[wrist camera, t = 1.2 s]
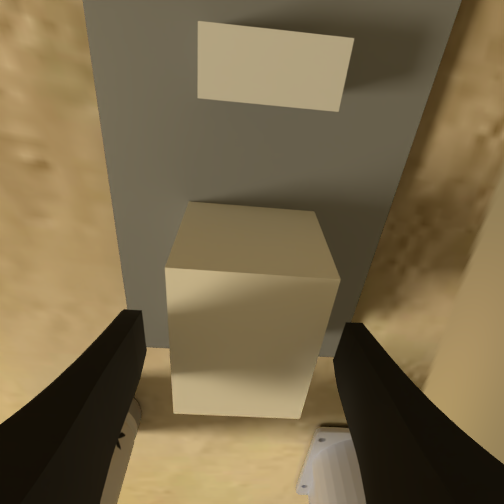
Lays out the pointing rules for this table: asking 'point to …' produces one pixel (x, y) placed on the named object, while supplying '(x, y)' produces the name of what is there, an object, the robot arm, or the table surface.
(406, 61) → the board
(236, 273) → the cream rectangular block
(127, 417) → the travel mug
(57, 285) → the table surface
